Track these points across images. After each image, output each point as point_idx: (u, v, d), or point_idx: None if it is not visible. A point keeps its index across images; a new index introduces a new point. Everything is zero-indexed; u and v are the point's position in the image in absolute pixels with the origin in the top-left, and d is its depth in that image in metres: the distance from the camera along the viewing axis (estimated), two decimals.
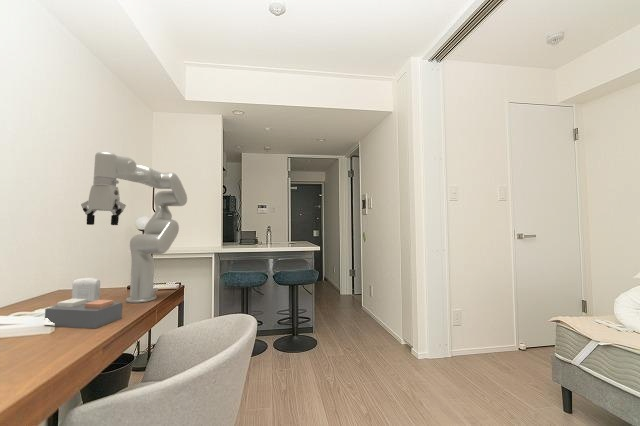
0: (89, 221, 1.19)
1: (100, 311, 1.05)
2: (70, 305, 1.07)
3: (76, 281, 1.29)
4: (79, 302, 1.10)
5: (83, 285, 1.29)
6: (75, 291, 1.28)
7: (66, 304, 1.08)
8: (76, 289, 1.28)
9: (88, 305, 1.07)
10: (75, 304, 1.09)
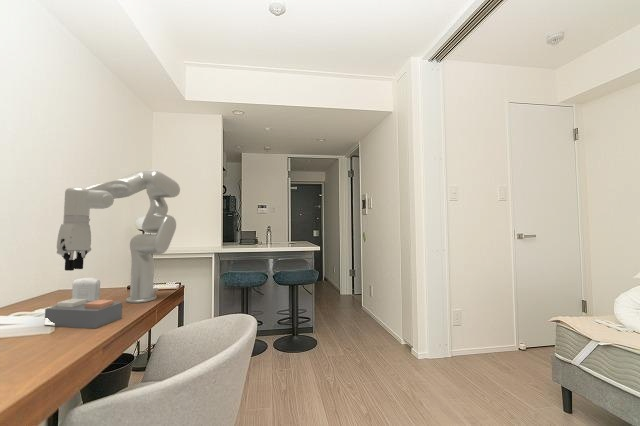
0: None
1: (100, 311, 1.05)
2: (70, 305, 1.07)
3: (76, 281, 1.29)
4: (79, 302, 1.10)
5: (83, 285, 1.29)
6: (75, 291, 1.28)
7: (66, 304, 1.08)
8: (76, 289, 1.28)
9: (88, 305, 1.07)
10: (75, 304, 1.09)
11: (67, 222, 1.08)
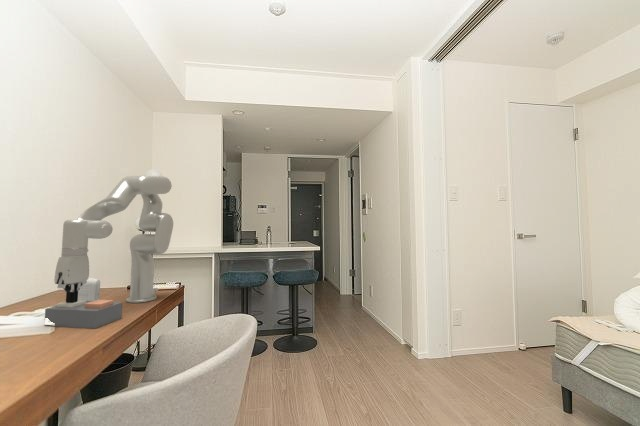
0: None
1: (100, 311, 1.05)
2: (70, 306, 1.07)
3: None
4: (79, 303, 1.10)
5: (83, 285, 1.29)
6: None
7: (66, 305, 1.08)
8: None
9: (88, 305, 1.07)
10: (75, 305, 1.09)
11: (65, 255, 1.08)
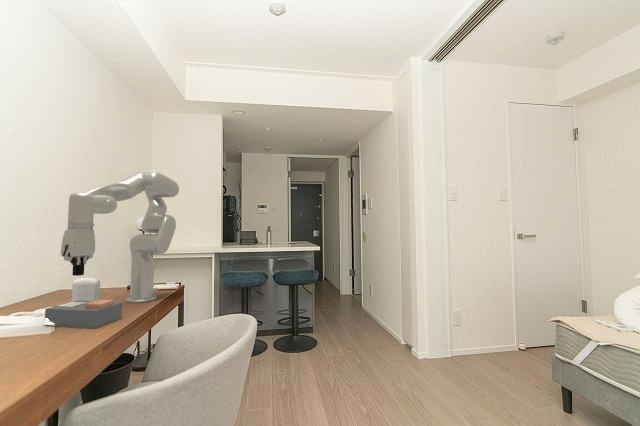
0: None
1: (100, 311, 1.05)
2: None
3: (76, 281, 1.29)
4: None
5: (83, 285, 1.29)
6: (75, 291, 1.28)
7: None
8: (76, 289, 1.28)
9: (88, 305, 1.07)
10: None
11: (71, 228, 1.08)
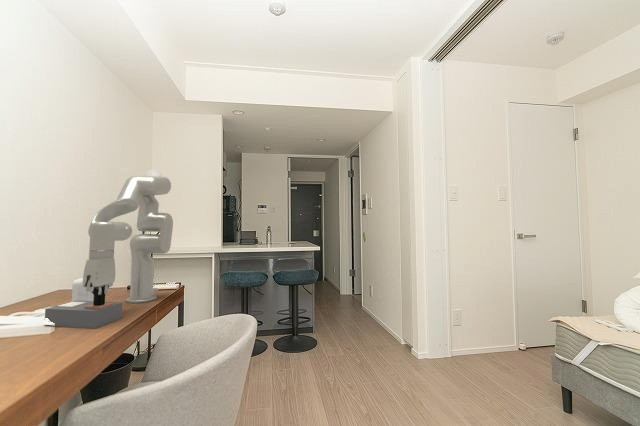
0: None
1: (100, 311, 1.05)
2: None
3: (76, 281, 1.29)
4: None
5: None
6: (75, 291, 1.28)
7: None
8: (76, 289, 1.28)
9: None
10: None
11: (93, 257, 1.07)
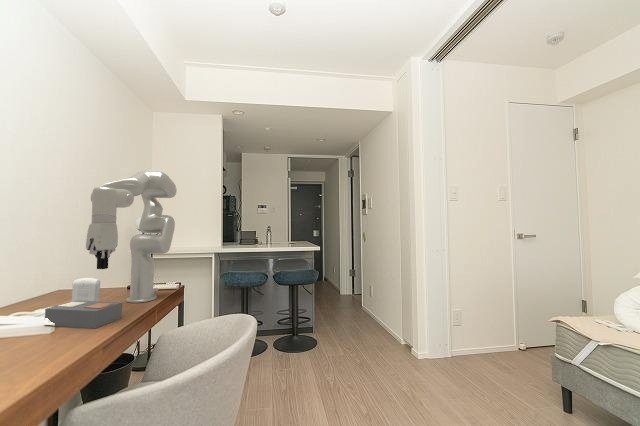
0: None
1: (100, 311, 1.05)
2: None
3: (76, 281, 1.29)
4: None
5: (83, 285, 1.29)
6: (75, 291, 1.28)
7: None
8: (76, 289, 1.28)
9: None
10: None
11: (96, 221, 1.08)
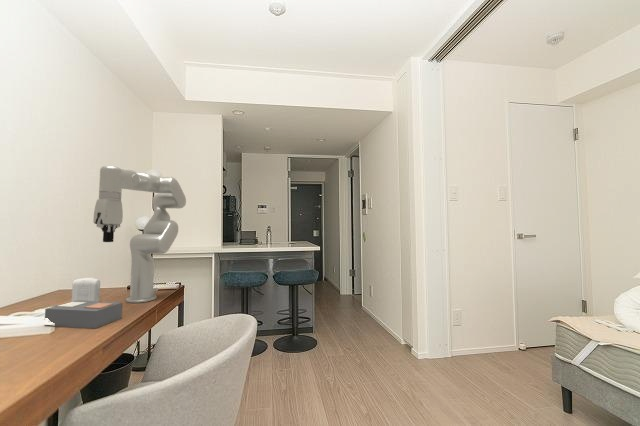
0: None
1: (100, 311, 1.05)
2: None
3: (76, 281, 1.29)
4: None
5: (83, 285, 1.29)
6: (75, 291, 1.28)
7: None
8: (76, 289, 1.28)
9: None
10: None
11: (102, 197, 1.17)
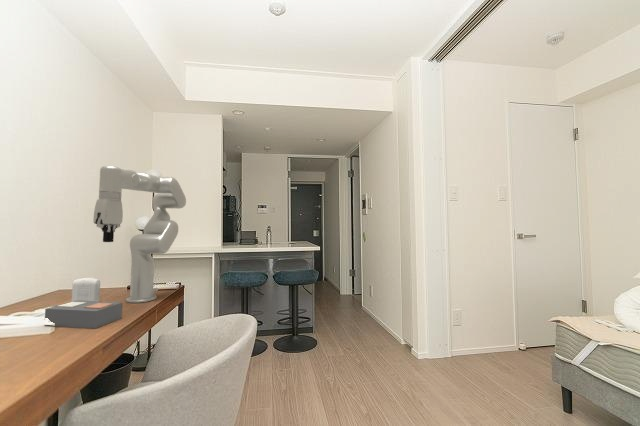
0: None
1: (100, 311, 1.05)
2: None
3: (76, 281, 1.29)
4: None
5: (83, 285, 1.29)
6: (75, 291, 1.28)
7: None
8: (76, 289, 1.28)
9: None
10: None
11: (102, 197, 1.17)
